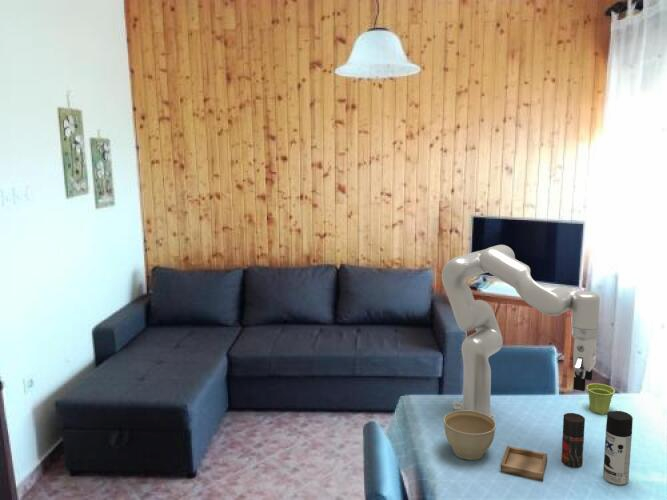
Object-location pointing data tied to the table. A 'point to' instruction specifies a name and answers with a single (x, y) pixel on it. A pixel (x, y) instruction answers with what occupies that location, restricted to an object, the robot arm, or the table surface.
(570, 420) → the deodorant
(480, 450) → the planter bowl
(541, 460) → the tray
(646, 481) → the table surface
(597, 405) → the plant pot
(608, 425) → the spray can
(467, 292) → the robot arm
